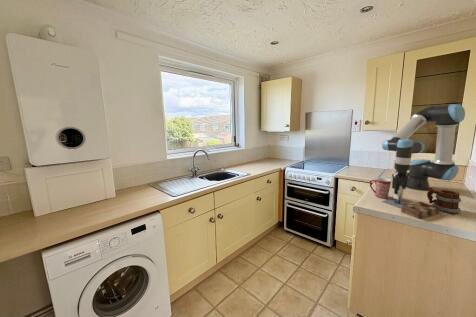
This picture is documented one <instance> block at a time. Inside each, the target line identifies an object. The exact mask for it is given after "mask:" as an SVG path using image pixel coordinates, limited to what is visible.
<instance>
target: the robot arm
mask: <svg viewBox="0 0 476 317" xmlns="http://www.w3.org/2000/svg"><path fill="white" fill-rule="evenodd" d="M465 116H466V111H465V108H464V106H463V105H462V104H459V103H457V104H455V103H454V104H441V105H431V106H430V105H429V106H426V107H424V108H421V109H420V110H418V111H416V112H415V113H414V114H413V115H411V117H410V120H409V121H408V122H407V123H406V124H404V126H403V127H401V129H400V130H399V131H398V132H397V133H395V134H394V136H393V137H391V138H390V139H384V141H383V142H382V144H381V148H382V150H385V151H388V152H389V151H390V152H396V153H395V159H394V160H395V161H394V167H393V168H394V169H395V173H392V174H391V177H392V181H391V183H392V184H391V185H392V186H391V189H393V190H394V191H393V192H394V193H393V198H392V199H394V198H395V199H399V193H400V190H399V187H400V185H401V186H402V193H401V200H402V199H403V195H404V190H406V189H407V188H408V189H412V190H417V191H429V189H428V187H431V185H430V183H429V178H431V179H437V180H442V181H447V182H449V181H452V180H454V179H455V178H456V177H457V175H458V172H459V166H458V165H456V162H455V161H454V160H453V154H454V144H455V135H456V127H457V126H459V125H460V123H461V122H463V121H464V120H465V118H466V117H465ZM426 123H427V124H428V123H434V125H435V127H437V132H436V144H435V145H436V146H435V155H434V159H433V160H431V159H426V158H424V159H412V154H419V153H422V152H424V150H425V149H426V146H425V144H424V143H423V142H421V141H417V140H416V141H414V140H413V139H409V138H410V137H411V136H412V135H413V134H414V133H415V132H416V131H418V130H419V129H420V127H421V126H424V125H425V124H426Z"/></svg>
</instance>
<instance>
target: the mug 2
mask: <svg viewBox="0 0 476 317" xmlns="http://www.w3.org/2000/svg"><path fill="white" fill-rule="evenodd" d="M428 189H429V190H427V193H426V194H427V195H426V197H427V199H428V204H430V205H433V206H436V207H439V212H441V213H446V214H448V215H449V214H450V215H451V214H452V215H458V214H459V212H461V208H460V207H459V204H460V202H462V199H461V197H460V195H461V194H460V193H459V192H457V191H453V190H449V189H438V190H435V189H434V188H433V187H432V186H430V187H428ZM434 194H435V196H434V197H435V198H436V199H434V197H433V195H434Z"/></svg>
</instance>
